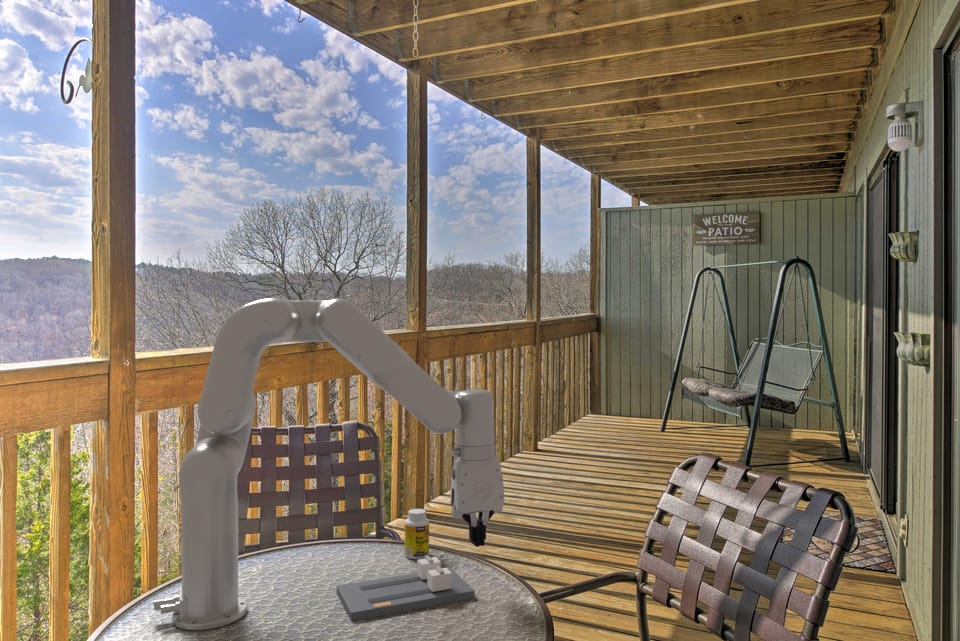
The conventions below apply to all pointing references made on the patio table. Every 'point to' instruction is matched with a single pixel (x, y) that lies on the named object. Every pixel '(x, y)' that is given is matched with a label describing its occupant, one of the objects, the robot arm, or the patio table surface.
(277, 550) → the patio table surface
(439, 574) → the tab near
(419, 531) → the supplement bottle
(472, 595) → the switch panel
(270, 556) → the patio table surface
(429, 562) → the tab far
